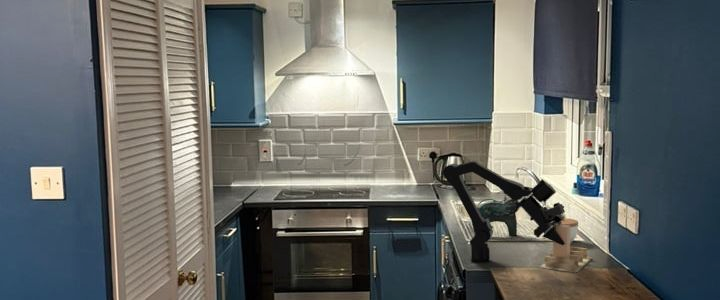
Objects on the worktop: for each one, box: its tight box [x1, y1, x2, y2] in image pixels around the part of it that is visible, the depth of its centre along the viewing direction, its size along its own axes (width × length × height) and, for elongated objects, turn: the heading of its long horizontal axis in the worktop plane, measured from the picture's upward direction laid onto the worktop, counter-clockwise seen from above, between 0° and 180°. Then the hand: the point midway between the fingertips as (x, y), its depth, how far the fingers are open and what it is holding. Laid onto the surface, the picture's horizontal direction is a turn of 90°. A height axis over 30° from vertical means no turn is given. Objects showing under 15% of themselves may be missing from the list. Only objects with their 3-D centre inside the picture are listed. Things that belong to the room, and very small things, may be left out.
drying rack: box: [539, 246, 593, 273], centre depth 235 cm, size 13×21×4 cm, turn 146°
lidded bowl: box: [561, 215, 579, 244], centre depth 268 cm, size 13×13×11 cm
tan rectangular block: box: [552, 224, 571, 259], centre depth 230 cm, size 4×5×13 cm
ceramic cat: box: [477, 190, 520, 237], centre depth 283 cm, size 20×6×20 cm, turn 85°
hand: (565, 243), depth 229 cm, fingers closed on tan rectangular block, 3 cm apart
